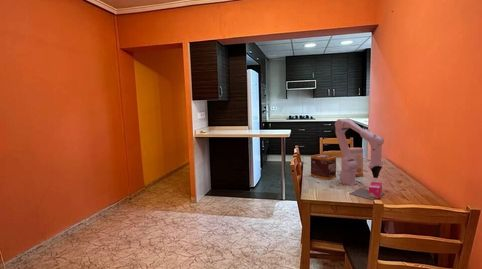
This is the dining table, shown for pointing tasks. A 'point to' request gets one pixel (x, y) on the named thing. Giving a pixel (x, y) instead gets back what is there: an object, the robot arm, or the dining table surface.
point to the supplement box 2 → (375, 189)
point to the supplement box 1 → (323, 166)
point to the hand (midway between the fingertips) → (375, 177)
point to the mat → (363, 194)
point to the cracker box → (358, 160)
